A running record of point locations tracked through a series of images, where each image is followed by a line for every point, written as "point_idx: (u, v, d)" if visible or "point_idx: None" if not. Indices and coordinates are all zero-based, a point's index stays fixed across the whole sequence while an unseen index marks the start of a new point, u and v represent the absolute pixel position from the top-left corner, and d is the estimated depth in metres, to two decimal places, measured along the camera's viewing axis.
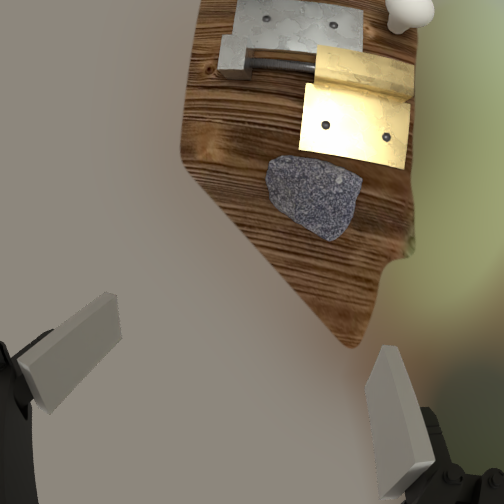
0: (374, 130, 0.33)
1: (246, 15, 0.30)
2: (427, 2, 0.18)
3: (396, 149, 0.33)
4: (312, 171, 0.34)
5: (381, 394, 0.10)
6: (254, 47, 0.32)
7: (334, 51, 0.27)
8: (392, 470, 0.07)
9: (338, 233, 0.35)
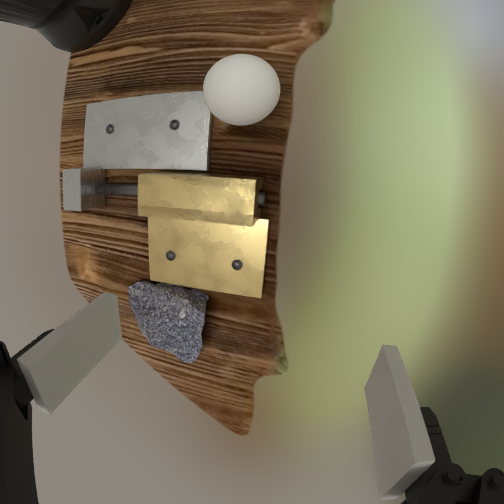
0: (222, 258, 0.33)
1: (93, 126, 0.31)
2: (251, 86, 0.18)
3: (250, 277, 0.33)
4: (160, 302, 0.34)
5: (381, 394, 0.10)
6: (101, 168, 0.32)
7: (155, 180, 0.27)
8: (392, 470, 0.07)
9: (191, 359, 0.35)
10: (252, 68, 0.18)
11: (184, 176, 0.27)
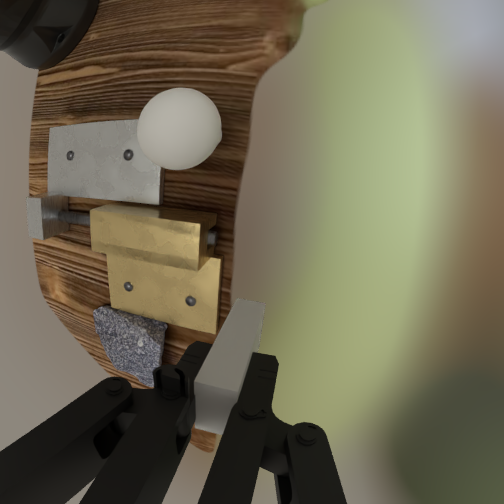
0: (176, 293, 0.31)
1: (55, 151, 0.29)
2: (180, 132, 0.17)
3: (204, 314, 0.32)
4: (121, 329, 0.33)
5: None
6: (63, 194, 0.31)
7: (105, 218, 0.26)
8: None
9: (152, 384, 0.33)
10: (182, 109, 0.16)
11: (131, 216, 0.25)
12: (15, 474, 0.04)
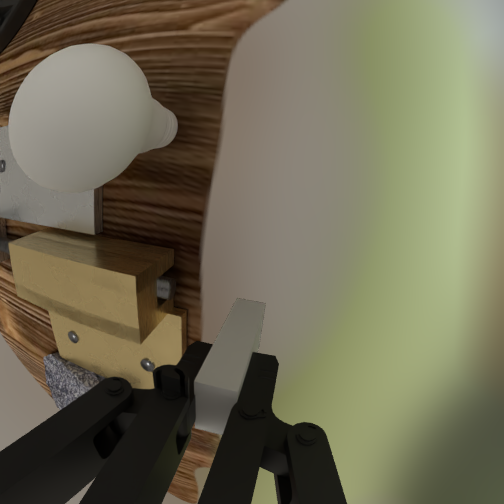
0: (129, 353, 0.21)
1: None
2: (51, 122, 0.07)
3: None
4: (71, 386, 0.22)
5: None
6: None
7: (23, 256, 0.16)
8: None
9: None
10: (58, 76, 0.06)
11: (49, 256, 0.15)
12: (15, 474, 0.04)
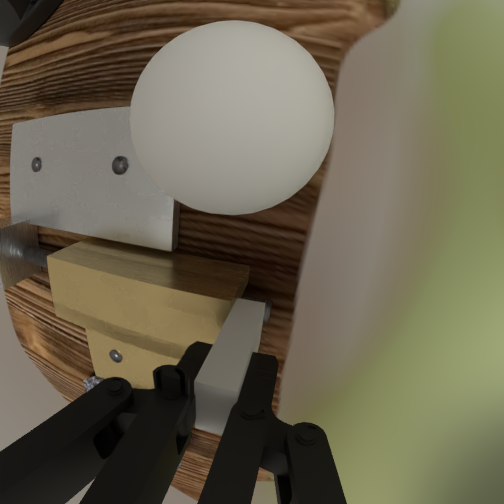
0: None
1: (19, 158, 0.18)
2: (259, 121, 0.06)
3: None
4: None
5: None
6: (30, 222, 0.20)
7: (68, 272, 0.15)
8: None
9: None
10: (264, 57, 0.05)
11: (107, 274, 0.14)
12: (15, 474, 0.04)
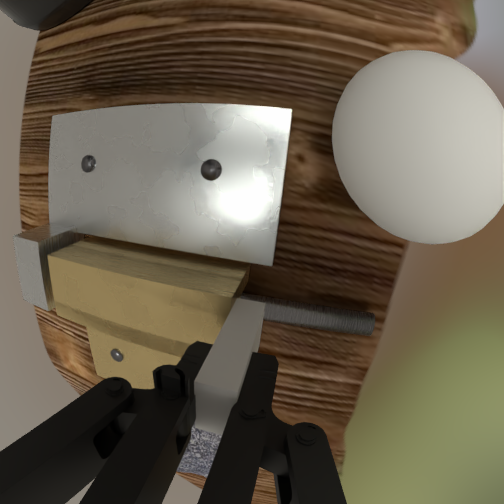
0: None
1: (62, 156, 0.17)
2: None
3: None
4: None
5: None
6: (77, 230, 0.19)
7: (69, 271, 0.15)
8: None
9: None
10: (503, 117, 0.05)
11: (108, 272, 0.14)
12: (15, 474, 0.04)
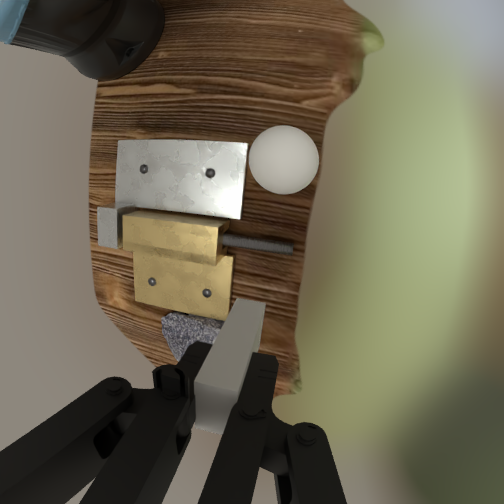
0: (194, 286, 0.38)
1: (126, 164, 0.35)
2: (297, 166, 0.22)
3: (218, 304, 0.38)
4: (193, 332, 0.38)
5: None
6: (135, 205, 0.36)
7: (136, 222, 0.32)
8: None
9: None
10: (298, 147, 0.22)
11: (160, 220, 0.32)
12: (15, 474, 0.04)
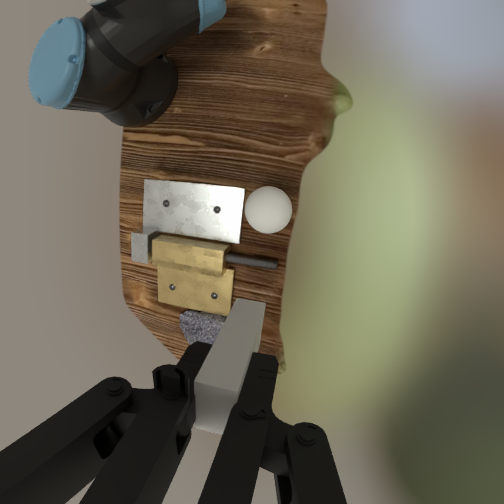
0: (205, 291, 0.51)
1: (151, 198, 0.48)
2: (276, 218, 0.36)
3: (222, 304, 0.51)
4: (205, 325, 0.51)
5: None
6: (159, 230, 0.49)
7: (163, 245, 0.46)
8: None
9: None
10: (277, 205, 0.35)
11: (181, 245, 0.45)
12: (15, 474, 0.04)
